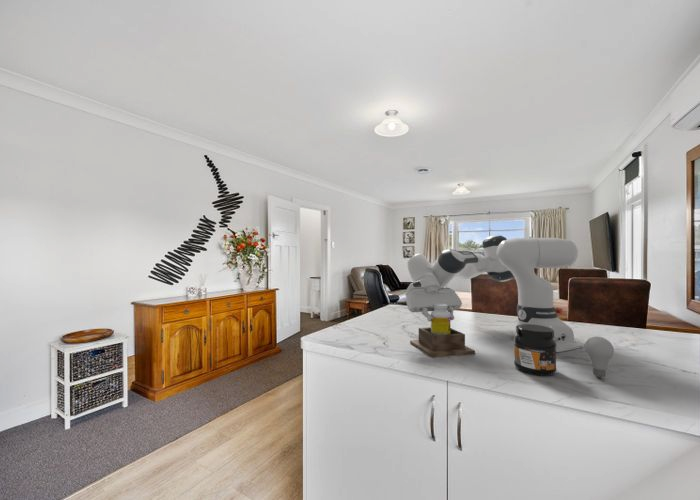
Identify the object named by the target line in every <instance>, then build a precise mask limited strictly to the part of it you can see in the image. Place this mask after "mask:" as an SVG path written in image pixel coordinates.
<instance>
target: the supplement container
mask: <svg viewBox="0 0 700 500" xmlns="http://www.w3.org/2000/svg"><path fill="white" fill-rule="evenodd" d="M515 333H517V335H515V334H514V337H513V340H514V342H513V343H514V346H513V347H514V348H513V349H514V350H513V351H514V354H513V355H514V357H513V359H514V360H513V364H514V366H515V368H517V369H518V370H520V371H521V372H523V373H526V374H530V375H535V376H545V377H546V376H552V375H554V374H556V373H557V352H556V346H557V343H556V341H555V340H554V339H553V338H554V330H553V329H552V328H549V327H545V326H540V325H531V324H521V325H517V324H516V326H515Z"/></svg>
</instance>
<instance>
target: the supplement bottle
mask: <svg viewBox="0 0 700 500" xmlns="http://www.w3.org/2000/svg"><path fill="white" fill-rule="evenodd" d="M447 308H448V305H447V304H442V303H438V304H434V311H430V312H431V313H430V315H433V318H434V320H433V321H430V327H431V333H432V334H434V335H446V334H450V328H451V320H450V312H448V311H447Z"/></svg>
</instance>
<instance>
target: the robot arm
mask: <svg viewBox="0 0 700 500" xmlns="http://www.w3.org/2000/svg"><path fill="white" fill-rule="evenodd" d="M481 244H482V249H483V252H484V253H483V254H484V255H483V254H481V253H474V252H472V251H469V250H455V249H449V248H448V249H444V250H443V251H442V252H441V253H440V254H439V256H438V258H437V259H436V260H435V261H434V262H433V263H431V262H430V261H429V260H428V259H427V257H426V255H424V254H423V253H417V254H414V255H412V256H411V257H410V258H409V259H408V260H407V268H408V272H409V273H408V274H409V275H410V278H411V280H412V281H413V282H411V283H410V284H409V285H408V287H407V288H406V291H405V294H404V295H405V297H406V299H405V301H406V306H407V308H408V311H410V312H411V313H421V314H422V315H423V316H424V317H425V318H426V320H427V321H428V322H431V321H433V320H434V318H433V315H431V313H430V312H432V311H434V304H438V303H442V304H447V305H448V308H447V312H449V313H450V321H454V320H455V315H454V311H459V310H460V309H461V307H462V304H463V302H462V300H461V299H460V296H459V295H458V294H457V293H456V291H455V290H454V289H452V288H451V287H446V286H448V284H449V283H450V282H451V281H452V280H453V279H454V278H455V277H456V276H458V277H459V278H461V279H465V280H469V279H474V278H476V277H478V276H480V275H481V274H485V273H486V276H487V277H489V278H491V279H492V280H493V281H495V282H508V281H511V280H512V279H513V278H514V280H515V282H516V287H517V296H518V297H517V299H518V301H517V302H518V303H517V305H516V314H517V321H516V326H517V325H521V324H531V325H540V326H545V327H549V328H552V329H553V330H554V338H553V339H554V340H555V341H556V343H557V346H556V353H562V352H567V351H571V350H575V349H580V348H581V349H582V348H583V344H582V343H581V342H579V341H577V340H575V336H574V335H575V334H574V331H573V329H572V328H571V327H570V326H569V325H567V323H565V322H564V321H562V319H560V318H559V315H562V314H563V313H564V308H561V307H555V306H554V287H553V284H552V283H551V282H550V281H549V280H547V279H545V278H543V277H541V276H538V275H537V274H536V273H535V269H561V268H568V267H571V266H572V265H574V264H575V262H576V261H577V259H578V256H579V250H578V248H577V245H576V243H574V242H573V241H572V240H571V239H566V238H559V237H514V238H509V239H508V238H506V237H505V236H503V235H499V234H493V235H489V236H487V237H486V238H485V239H483V240H482V242H481ZM558 314H559V315H558ZM515 335H517V333H516V332H515V334H514V336H515ZM512 341H513V343H514V339H513V340H512Z"/></svg>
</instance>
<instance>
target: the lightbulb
mask: <svg viewBox="0 0 700 500" xmlns="http://www.w3.org/2000/svg"><path fill="white" fill-rule="evenodd" d="M584 349H585V351H586V354H587V356H588V357H589V359H590V363H591V367H592V373H593V375H594V376H595V377H596V378H597V379H603V378H605V377H606V370H607V367H608V364H609V361H610V360H611V359H612V357H613V356H614V352H615V349H614V345H613V344H612V342H611V341H609V340H608V339H607V338H604V337H601V336H592V337H589V338H588V339H587V340H586V341H585V343H584Z"/></svg>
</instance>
